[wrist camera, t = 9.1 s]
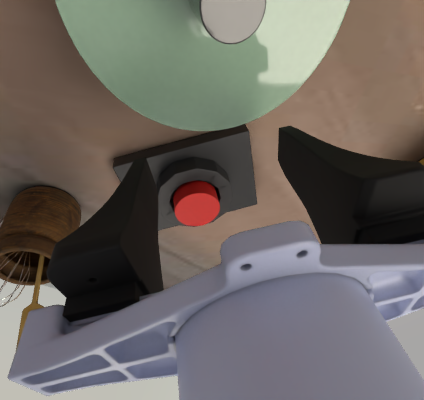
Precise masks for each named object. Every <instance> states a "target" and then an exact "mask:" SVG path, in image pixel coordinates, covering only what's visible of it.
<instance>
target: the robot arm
mask: <svg viewBox="0 0 424 400" xmlns="http://www.w3.org/2000/svg"><path fill="white" fill-rule="evenodd" d="M278 161H279V163H280V166H281V168H282V170H283V172H284V174H285V176H286V178H287V179H288V181H289V182H290V184H291V186H292V187H293V189H294V190H295V192H296V193H297V195H298V196H299V198H300V200H301V201H302V203H303V204H304V206H305V208H306V210H307V212H308V214H309V216H310V218H311V220H312V222H313V225H314V227H315V229H316V231H317V234H318V236H319V238H320V241H321V243H322V244H319V242H318V240H317V239H316V237H315V235H314V234H313V232H312V230H311V228H310V227H309V225H308V224H306V223H304V222H302V221H287V222H283V223H279V224H274V225H270V226H266V227H261V228H257V229H252V230H248V231H244V232H239V233H237V234H235V235H232V236H230V237H229V238H228V239H227V240H226V241H225V242H224V243H222V245H221V249H220V255H221V264H219V265H217V266H215V267H213V268H210V269H208V270H206V271H204V272H202V273H200V274H197V275H195V276H193V277H191V278H189V279H186V280H184V281H182V282H180V283H178V284H176V285H173V286H171V287H169V288H167V289H165V290H164V288H163V281H162V273H161V264H160V255H159V245H158V206H159V202H158V193H157V186H156V183H155V181H154V178H153V175H152V172H151V170H150V167H149V164H148V161H147V159H146V157H143V158H139V159H134V161H133V163H132V164H131V166H130V168H129V170H128V172H127V173H126V175H125V177H124V178H123V180H122V182H121V183H120V185H119V186H118V188H117V189H116V191H115V192H114V193H113V195H112V196H111V197H110V199H109V200H108V201H107V202H106V203H105V204H104V205H103V207H102V208H101V209H100V210H99V211H98V212H96V213H95V214H94V215H93V216H92V217H91V218H90V219H89V220H88V221H87V222H85V223H84V224H83V225H82V226H80V227H79V228H78V229H77V230H75V231H74V232H72V233H71V234H70V235H68V236H66V237H65V238H63V239H62V240H60V241H59V242H57V243H56V244H55V246H54V249H53V252H52V255H51V258H50V262H49V265H48V269H47V272H46V274H47V278H48V279H49V281H50V282H51V283H52V284H53V285H54V286H55V287H56V288H57V289H58V290H59V291H60V292H61V293H62V294H63V295H64V296H65V297H66V302H65V306H63V305H52V306H48V307H44V308H39V309H35V310H31V311H29V313H28V316H27V319H26V322H25V325H24V328H23V331H22V334H21V337H20V340H19V343H18V347H17V350H16V353H15V356H14V359H13V362H12V365H11V368H10V371H9V374H8V379H9V380H11V381H13V382H16V383H18V384H20V385H23V386H25V387H27V388H30V389H32V390H34V391H36V392H39V393H41V394H43V395H46V396H50V395H54V394H58V393H63V392H68V391H72V390H78V389H83V388H89V387H95V386H102V385H108V384H116V383H124V382H131V381H139V380H147V379H155V378H163V377H170V376H178V385H179V399H180V400H424V380H423V378H422V377H421V375H420V374H419V372H418V371H417V369H416V367H415V366H414V364H413V363H412V361H411V360H410V358H409V356H408V355H407V353H406V352H405V350H404V349H403V347H402V346H401V344H400V342H399V341H398V339H397V338H396V336H395V335H394V333H393V332H392V330H391V328H390V327H389V325H388V324H387V321H390V320H393V319H395V318H398V317H401V316H404V315H406V314H409V313H412V312H415V311H418V310H420V309H423V308H424V165H422V164H421V163H420V162H413V161H400V160H391V159H383V158H377V157H372V156H367V155H363V154H358V153H355V152H351V151H348V150H345V149H341V148H339V147H336V146H333V145H331V144H328V143H326V142H324V141H321V140H319V139H317V138H315V137H313V136H311V135H309V134H307V133H305V132H303V131H301V130H299V129H297V128H294V127H292V126H287V127H282V128H279V144H278Z"/></svg>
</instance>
